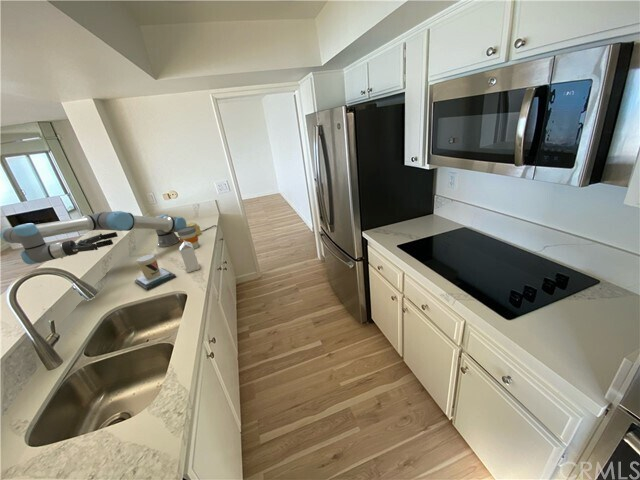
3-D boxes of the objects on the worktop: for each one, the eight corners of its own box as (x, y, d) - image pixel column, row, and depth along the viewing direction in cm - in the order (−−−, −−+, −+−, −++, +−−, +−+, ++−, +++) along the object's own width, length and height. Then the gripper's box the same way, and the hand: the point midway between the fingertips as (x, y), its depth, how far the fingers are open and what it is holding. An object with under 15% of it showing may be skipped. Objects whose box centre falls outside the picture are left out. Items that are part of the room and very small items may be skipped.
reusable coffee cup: (184, 252, 191) (177, 233, 185) (182, 247, 201) (175, 229, 195) (202, 247, 196) (196, 228, 190) (199, 242, 206) (193, 224, 200)
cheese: (202, 233, 225) (198, 222, 221) (192, 238, 217) (188, 227, 213) (193, 233, 230) (190, 222, 226) (183, 237, 221) (179, 226, 217)
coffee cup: (153, 280, 152) (145, 261, 147) (140, 279, 154) (132, 261, 149) (165, 271, 160) (158, 253, 155) (152, 271, 162) (145, 254, 157)
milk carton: (187, 272, 161) (177, 244, 153) (187, 268, 167) (177, 240, 159) (199, 269, 164) (190, 241, 156) (199, 264, 170) (190, 237, 162)
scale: (162, 270, 168) (161, 266, 167) (176, 277, 157) (174, 273, 156) (135, 282, 157) (133, 278, 156) (147, 290, 146) (146, 286, 145)
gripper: (76, 247, 146) (121, 237, 154) (60, 264, 125) (113, 251, 133) (69, 235, 143) (115, 225, 151) (52, 250, 122) (106, 238, 130)
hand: (114, 237), depth 142 cm, fingers open, 13 cm apart
